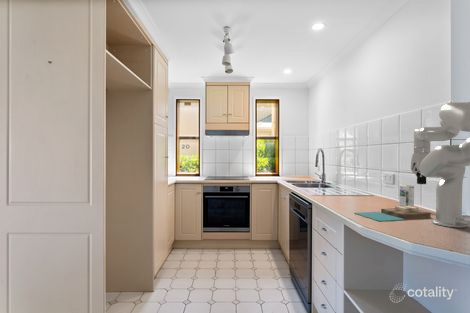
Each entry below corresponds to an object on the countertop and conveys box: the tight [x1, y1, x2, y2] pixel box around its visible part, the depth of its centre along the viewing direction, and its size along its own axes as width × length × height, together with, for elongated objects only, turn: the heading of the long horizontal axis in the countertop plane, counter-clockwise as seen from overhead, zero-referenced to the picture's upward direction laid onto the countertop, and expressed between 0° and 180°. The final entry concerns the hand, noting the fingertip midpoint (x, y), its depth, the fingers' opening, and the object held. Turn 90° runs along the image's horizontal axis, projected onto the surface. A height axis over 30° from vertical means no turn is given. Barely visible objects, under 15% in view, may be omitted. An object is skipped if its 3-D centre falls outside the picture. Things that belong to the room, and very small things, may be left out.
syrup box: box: [398, 184, 415, 207], centre depth 161 cm, size 6×6×14 cm
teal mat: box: [354, 211, 406, 222], centre depth 137 cm, size 18×16×1 cm
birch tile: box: [394, 205, 419, 212], centre depth 142 cm, size 9×6×2 cm, turn 103°
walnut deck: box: [380, 207, 432, 220], centre depth 141 cm, size 14×18×2 cm
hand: (421, 183), depth 144 cm, fingers closed
